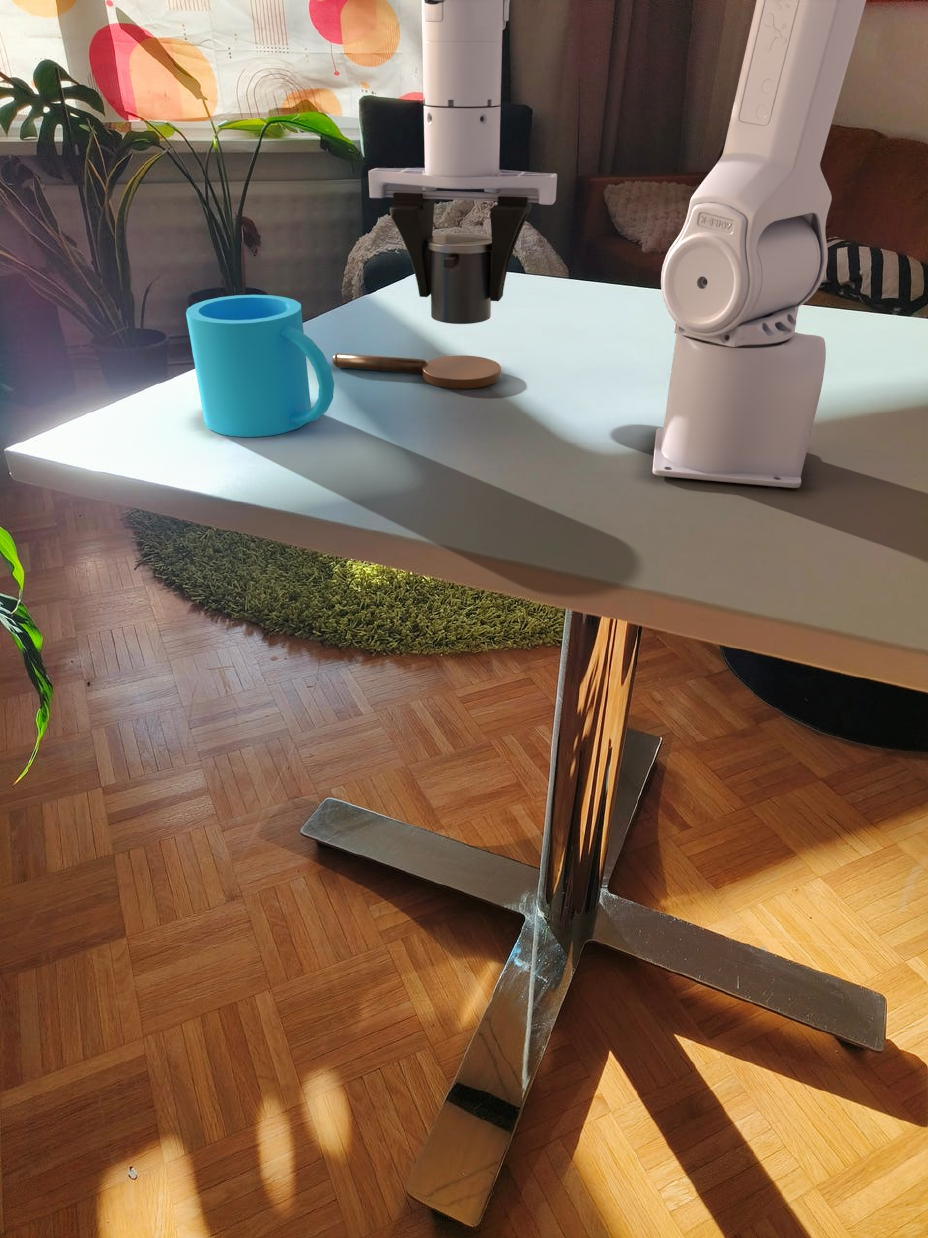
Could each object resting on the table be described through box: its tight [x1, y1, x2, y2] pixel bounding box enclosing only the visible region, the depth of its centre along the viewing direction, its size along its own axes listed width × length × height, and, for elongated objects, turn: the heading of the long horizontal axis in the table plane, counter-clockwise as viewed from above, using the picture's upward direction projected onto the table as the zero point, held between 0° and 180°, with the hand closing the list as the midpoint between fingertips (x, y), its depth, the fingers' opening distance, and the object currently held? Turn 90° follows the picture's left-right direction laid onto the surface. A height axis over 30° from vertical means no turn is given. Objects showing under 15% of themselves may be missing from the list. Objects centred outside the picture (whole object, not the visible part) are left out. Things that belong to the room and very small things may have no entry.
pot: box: [426, 232, 492, 325], centre depth 70 cm, size 6×7×6 cm
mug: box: [185, 294, 335, 438], centre depth 63 cm, size 12×8×8 cm
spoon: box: [332, 352, 502, 390], centre depth 75 cm, size 15×7×1 cm, turn 78°
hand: (461, 296), depth 71 cm, fingers closed on pot, 5 cm apart
